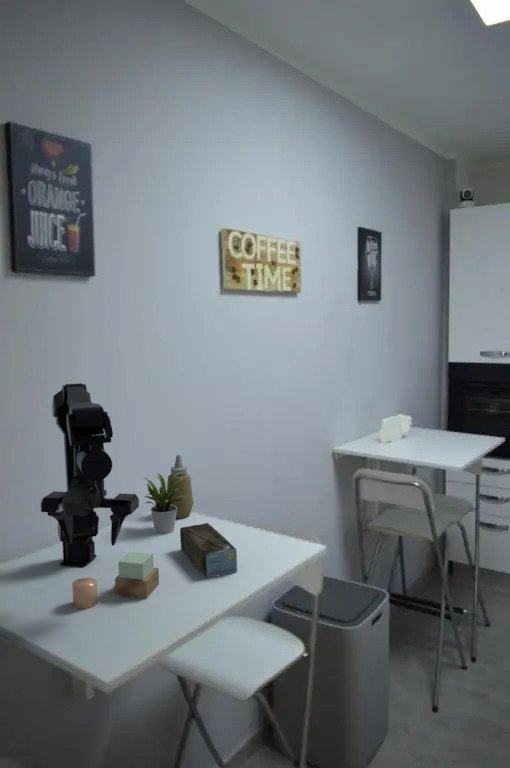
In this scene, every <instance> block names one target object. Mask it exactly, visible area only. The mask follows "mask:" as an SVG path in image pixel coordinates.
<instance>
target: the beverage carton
mask: <svg viewBox="0 0 510 768" xmlns="http://www.w3.org/2000/svg"><path fill="white" fill-rule="evenodd" d="M179 537H180V550H181V551H182V552H183V553H184V554H185V556H187V558H189V560H190V561H191V562H192V563H193V564H194V566H195V567H196V568H197V569H198V570H199V571H200V572H201V573H202V574H203V575H204V576H205V577H206V579H210V578H213V576H215V577H218V576H217V575H220V576H224V575H223V574H225V575H229V574H235V573H238V560H237V557H238V555H237V554H238V553H237V552H238V551H237V548H236V547H234V546H233V545H232V544H231V542H230V541H228V540H227V539H226V538H225V537H224V536H223V535H222V534H221V533H220V532H219V531H218V530H216V529H215V528H214V527H213V526H212V525H211V524H210V523H208V522H205V523H201V524H194V525H190V526H189V525H188V526H184V527H183V526H182V527H180V529H179ZM209 577H210V578H209Z"/></svg>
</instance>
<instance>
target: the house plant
mask: <svg viewBox="0 0 510 768" xmlns="http://www.w3.org/2000/svg"><path fill="white" fill-rule="evenodd" d="M156 473H157V472H156ZM156 473H154V475H155V476H156V477H157V478H158V480H159V482H160V487H159V489H157V486H156V485H155V484H154V483H153V482H152V481H151V480H150V479H148V477H147V478H146V477H143V479H145V480H146V481H147V483H146V486H147V491H148V493H147V494H146V495H143V497H144V498H147V499H149V501H146V502H145V504H152V505H154V506H152V507H151V508H150V511H151V516H152V522H153V528H154V532H155V533H156V534H159V533H161V535H164V533H166V534H170V533H173V532H174V531H175V525H176V519H177V518H176V513H177V507H176V506H174V505H170V504H172V503H173V502H176V501H183V500H181V499H176V498H177V497H185V496H183V495H179V496H177V497H175V498H174V501H172V498H173V496H174V494H175V493H176V491H177V490H178V489H179V488H177V487H178V485H179V484H180V483H182V482H183V481H185V480H187V479H190V480H192V479H193V478H192V477H190V478H187V479H184V480H182V479H180V480H179V481H178V482H176V483H175V484H174V486H173V487H174V488H173V487H172V488H173V489H172V488H171V486H172V484H173V482H174V480H175V478H176V477H177V475H178V474H179V473H181V472H179V473H177V474H175V475H174V476H173V477H172V479H171V480H170V482H169V486H168V490H167V485H166V481H165V479H164V477H163V475H162V474H161V473H157V474H156ZM181 480H182V481H181ZM180 481H181V482H180ZM179 482H180V483H179ZM178 483H179V484H178ZM176 488H177V489H176ZM149 495H150V496H149ZM175 499H176V500H175ZM151 501H154V502H155V503H153V502H151ZM171 501H172V502H171Z"/></svg>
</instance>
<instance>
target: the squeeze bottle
mask: <svg viewBox="0 0 510 768" xmlns="http://www.w3.org/2000/svg"><path fill="white" fill-rule="evenodd" d="M183 464H184V463H183V460H182V456H181V454H177V455H176V457H175V461H174V466H172V467H171V468H170V474H169V475H168V476H167V483H166V491H167V490H168V486H169V482H170V480H171V479H172V477H173V476H174V475H175V474H177V473H179V472H181V473H179V474H178V475H177V477H176V478H175V480H174V482H173V484H172V486H171V488H172V487H173V486H174V484H175V483H176V482H178V481H179V480H180V479H182V480H184V479H187V478H191V476H190V474H189V473H188V470H187V469H188V467H187V466H184V465H183ZM182 480H181V481H182ZM191 480H192V479H187V480H185V481H183V482H182V483H180V482H181V481H180V482H179V483H180V484H179V483H178V484H179V485H178V487H177V488H179V489H178V490H177V491H176V493H175V494H174V496H173V498H172V501H174V498H175V497H177V496H179V495H183V496H185V497H177V498H176V499H181V500H183V501H176V502H173V503H172V504H170V505H174V506H176V507H177V513H176V519H184V518H187V516H188V517H189V516H190V515H191V512H192V510H193V507H194V506H193V505H194V498H193V489H192V481H191ZM173 488H174V487H173ZM173 488H172V489H173ZM177 488H176V489H177ZM176 499H175V500H176ZM172 501H171V502H172ZM183 517H184V518H183Z"/></svg>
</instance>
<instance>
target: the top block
mask: <svg viewBox="0 0 510 768" xmlns="http://www.w3.org/2000/svg"><path fill="white" fill-rule="evenodd" d="M117 564H118V575H119V578H127V579H138V580H144V579H145V578H146V577H147V576H148V575H149V574H150V572H151V571H152V570H153V568H154V553H145V552H134V551H129V552H127V553H126V554H125V555H124V556H123V557H122V558H120V559H119V561H118V563H117Z"/></svg>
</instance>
